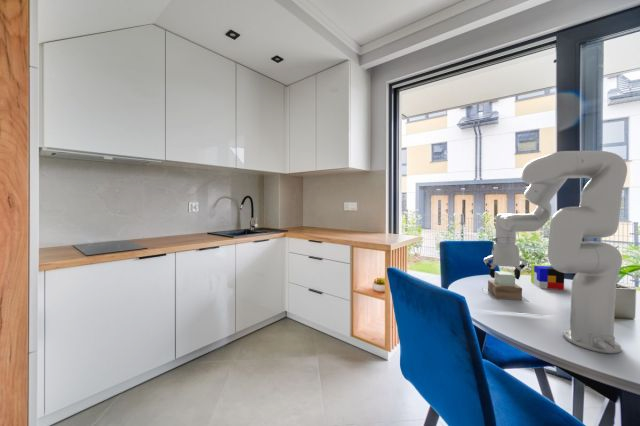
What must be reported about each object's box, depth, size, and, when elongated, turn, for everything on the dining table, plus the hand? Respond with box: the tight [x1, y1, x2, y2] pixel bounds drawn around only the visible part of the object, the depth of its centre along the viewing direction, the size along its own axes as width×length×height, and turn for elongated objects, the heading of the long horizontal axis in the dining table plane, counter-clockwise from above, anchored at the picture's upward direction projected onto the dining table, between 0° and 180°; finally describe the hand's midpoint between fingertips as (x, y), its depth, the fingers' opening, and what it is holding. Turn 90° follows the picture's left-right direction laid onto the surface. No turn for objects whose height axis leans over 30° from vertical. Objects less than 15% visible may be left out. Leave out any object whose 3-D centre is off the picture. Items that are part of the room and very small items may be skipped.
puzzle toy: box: [530, 263, 565, 291], centre depth 138 cm, size 10×10×10 cm
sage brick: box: [494, 270, 516, 286], centre depth 122 cm, size 6×6×5 cm
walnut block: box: [487, 279, 523, 300], centre depth 122 cm, size 10×10×5 cm
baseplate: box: [482, 288, 530, 303], centre depth 123 cm, size 14×14×1 cm
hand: (504, 277), depth 122 cm, fingers open, 9 cm apart
